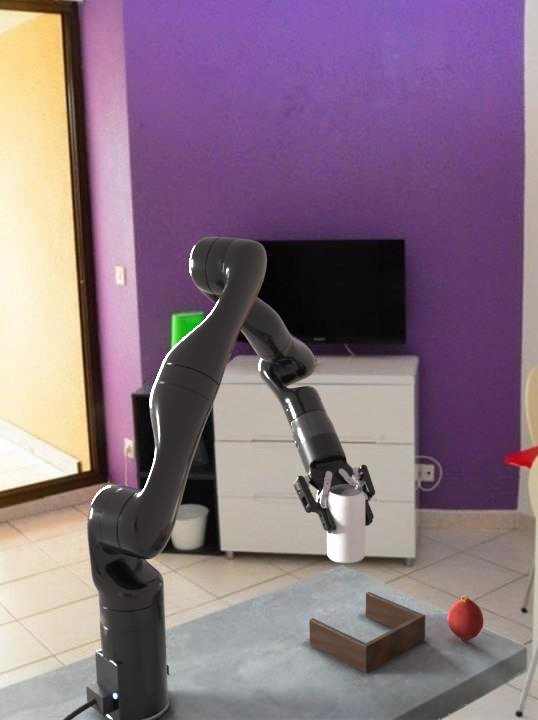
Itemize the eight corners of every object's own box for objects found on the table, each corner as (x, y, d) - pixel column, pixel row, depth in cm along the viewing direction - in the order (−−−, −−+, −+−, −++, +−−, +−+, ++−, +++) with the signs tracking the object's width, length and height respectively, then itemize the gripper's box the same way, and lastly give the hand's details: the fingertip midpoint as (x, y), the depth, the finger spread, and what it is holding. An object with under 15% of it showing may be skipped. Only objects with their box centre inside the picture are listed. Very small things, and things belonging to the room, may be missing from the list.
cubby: (366, 673, 141) (366, 646, 140) (309, 644, 150) (309, 619, 149) (425, 640, 151) (425, 615, 150) (368, 615, 160) (368, 591, 159)
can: (365, 549, 157) (366, 483, 155) (364, 565, 151) (364, 496, 149) (328, 548, 158) (328, 482, 156) (325, 564, 151) (325, 495, 149)
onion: (462, 628, 155) (463, 584, 153) (489, 640, 150) (491, 595, 149) (440, 640, 151) (441, 595, 149) (468, 653, 146) (469, 606, 145)
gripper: (287, 437, 154) (321, 525, 146) (359, 425, 160) (396, 510, 152) (274, 458, 159) (306, 545, 151) (344, 447, 166) (379, 529, 158)
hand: (351, 527), depth 152 cm, fingers closed on can, 6 cm apart
